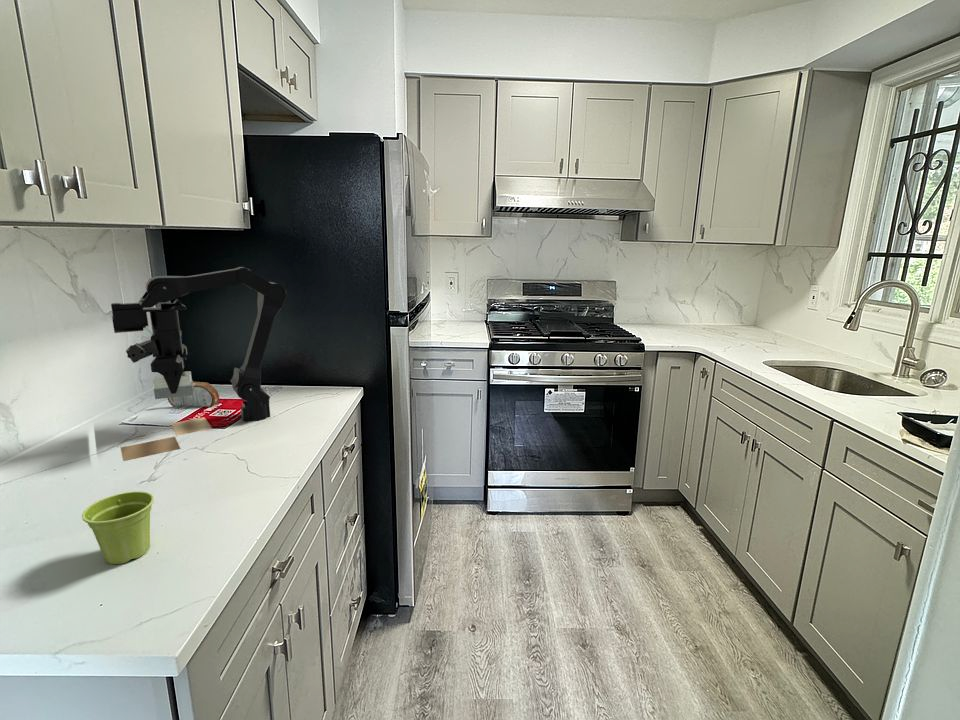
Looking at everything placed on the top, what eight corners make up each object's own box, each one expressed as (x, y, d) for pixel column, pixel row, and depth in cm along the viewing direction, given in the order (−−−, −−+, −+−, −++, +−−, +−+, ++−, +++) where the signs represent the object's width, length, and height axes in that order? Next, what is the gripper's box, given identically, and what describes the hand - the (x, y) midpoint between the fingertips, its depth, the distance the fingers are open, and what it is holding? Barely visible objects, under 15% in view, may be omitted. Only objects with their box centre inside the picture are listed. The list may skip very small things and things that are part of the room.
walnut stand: (175, 442, 124) (174, 436, 123) (181, 454, 117) (180, 448, 116) (121, 453, 117) (120, 447, 117) (124, 467, 110) (123, 460, 110)
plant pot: (76, 572, 76) (65, 522, 74) (116, 536, 85) (108, 491, 83) (139, 571, 77) (130, 521, 74) (172, 535, 86) (165, 490, 84)
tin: (221, 409, 147) (218, 382, 145) (214, 412, 144) (211, 385, 142) (174, 406, 149) (170, 379, 147) (166, 410, 146) (162, 382, 144)
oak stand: (205, 422, 137) (204, 417, 136) (212, 433, 129) (212, 428, 129) (171, 428, 132) (170, 423, 131) (177, 440, 124) (176, 435, 124)
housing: (157, 393, 124) (154, 374, 123) (194, 389, 128) (191, 370, 127) (155, 399, 120) (152, 379, 119) (193, 395, 123) (190, 375, 122)
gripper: (132, 324, 124) (141, 384, 128) (118, 338, 108) (129, 406, 112) (183, 322, 129) (190, 379, 133) (178, 335, 113) (186, 399, 117)
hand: (174, 390), depth 124 cm, fingers closed on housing, 5 cm apart
